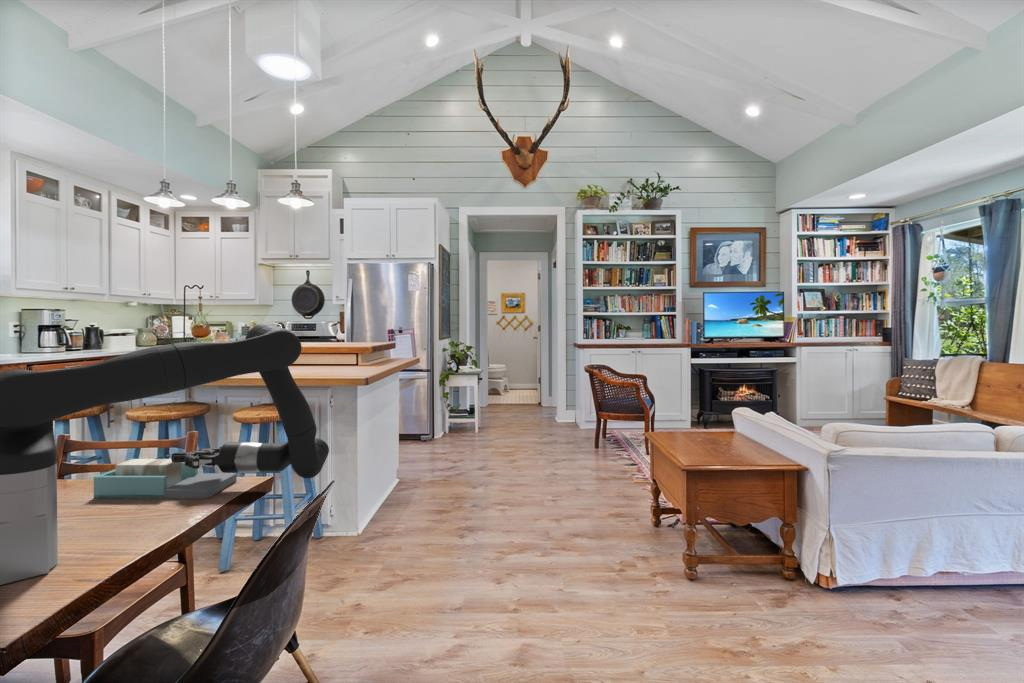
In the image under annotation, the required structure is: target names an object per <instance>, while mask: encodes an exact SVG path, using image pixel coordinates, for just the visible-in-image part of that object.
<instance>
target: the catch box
mask: <svg viewBox="0 0 1024 683" xmlns="http://www.w3.org/2000/svg"><path fill="white" fill-rule="evenodd" d="M198 469H199V468H198ZM198 469H194V468H191V467H188V466H185V462H181V481H183V480H185V479H187V478H189V477H191V476H193V475H195V474H197V473H198ZM165 489H167V476H116V468H114V469H112V470H109V471H105V472H103V473H101V474H99V475H98V474H97V475H96V476H93V499H165V498H164V490H165Z"/></svg>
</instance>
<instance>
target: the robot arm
mask: <svg viewBox="0 0 1024 683" xmlns="http://www.w3.org/2000/svg"><path fill="white" fill-rule="evenodd" d="M302 347H303V346H302V343H301V340H300V339H299V337H298V336H297V335H296V334H295V333H293V332H292V331H290V330H289V329H286V328H284V327H281V326H278V325H275V324H271V323H259V324H257V325H255V326H253V327H252V328H250V329H249V331H248V332H247V333H246V335H245V337H244V339H241V340H235V341H185V342H176V343H175V342H174V343H170V344H164V345H157V346H151V347H147V348H142V349H138V350H134V351H130V352H127V353H124V354H121V355H117V356H115V357H112V358H109V359H107V360H104V361H100V362H97V363H93V364H89V365H82V366H75V367H68V368H59V369H50V370H38V371H33V370H30V369H29V370H28V369H18V368H17V369H8V370H4V371H1V372H0V586H1V585H6V584H9V583H14V582H17V581H22V580H26V579H30V578H34V577H38V576H41V575H45V574H48V573H50V570H51V569H53V568H55V567H56V566H57V565H58V561H59V557H58V556H59V555H58V554H59V551H58V548H59V547H58V544H59V540H58V464H57V463H58V449H57V445H56V444H57V443H56V440H55V434H54V420H57V419H59V418H64V417H66V416H67V417H68V416H70V415H72V414H76V413H80V412H82V411H85V410H90V409H93V408H96V407H101V406H104V405H105V406H106V405H111V404H117V403H123V402H129V401H130V402H131V401H134V400H135V401H136V400H141V399H145V398H151V397H156V396H161V395H166V394H170V393H175V392H178V391H183V390H186V389H187V390H188V389H190V388H194V387H197V386H202V385H206V384H210V383H214V382H218V381H223V380H226V379H229V378H233V377H237V376H238V377H239V376H242V375H248V374H255V373H259V374H260V376H261V379H262V380H263V382H264V384H265V387H266V389H267V390H268V393H269V395H270V397H271V398H272V401H273V403H274V407H275V409H276V412H277V414H278V418H279V419H280V423H281V425H282V427H283V431H284V432H285V436H286V439H287V441H286V442H285V441H284V442H281V443H279V442H267V443H266V442H265V443H264V442H258V441H257V442H256V441H228V442H227V441H226V442H225V443H224V444H223V445H222V446H218V447H209V448H199V449H197V450H191V451H176V452H173V453H171V458H170V459H171V461H172V462H185V466H188V467H191V468H194V469H199V468H200V467H206V468H214V467H215V466H216V465H217V467H218V468H219V471H220V472H222V473H237V474H255V473H277V472H279V473H280V472H283V471H284V470H286V468H288V467H289V466H291V468H292V471H293V472H295V474H296V475H297V476H299V477H300V478H303V479H313V478H315V477H316V476H318V475H319V474H320V473H321V471H322V470H323V466H324V464H326V460H327V458H328V456H329V453H330V447H329V445H328V443H327V442H326V441H325V440H323V439H322V438H321V439H320V438H317V437H316V435H317V430H318V429H317V425H316V421H315V419H314V416H313V412H312V410H311V409H312V408H310V404H309V403H308V401H307V398H306V397H305V396H304V394H303V392H302V390H301V389H300V388H299V386H298V384H297V383H296V380H295V379H294V377H293V375H292V373H291V371H290V368H289V367H290V366H292V365H293V364H294V363H295V362H296V361H297V360H298V359H299V357H300V355H301V352H302V350H303V348H302Z"/></svg>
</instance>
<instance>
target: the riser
mask: <svg viewBox="0 0 1024 683" xmlns="http://www.w3.org/2000/svg"><path fill="white" fill-rule="evenodd" d="M237 474H238V473H223V472H222V473H219V472H217V473H214V472H213V473H212V472H211V473H209V472H207V473H204V472H203V473H202V472H200V473H197V474H195V475H193V476H191V477H189V478H187V479H185V480H183V481H181V482H179V483H177V484H175V485H173V486H171V487H169V488H167V489H165V490H164V498H163V499H208V498H210V497H212V496H213V495H216V494H217V493H219V492H221V491H222V490H224V489H225V488H228V487H229V486H230V485H232V484H234V483H236V482H237V480H238V479H237V476H238V475H237ZM198 478H199V479H198Z"/></svg>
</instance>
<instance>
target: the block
mask: <svg viewBox="0 0 1024 683" xmlns="http://www.w3.org/2000/svg"><path fill="white" fill-rule="evenodd" d="M115 469H116V476H167V488H169V487H171V486H173V485H175V484H177V483H179V482H181V462H172V461H171V458H130V459H129V460H126V461H123V462H120V463H117V464H115Z"/></svg>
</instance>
